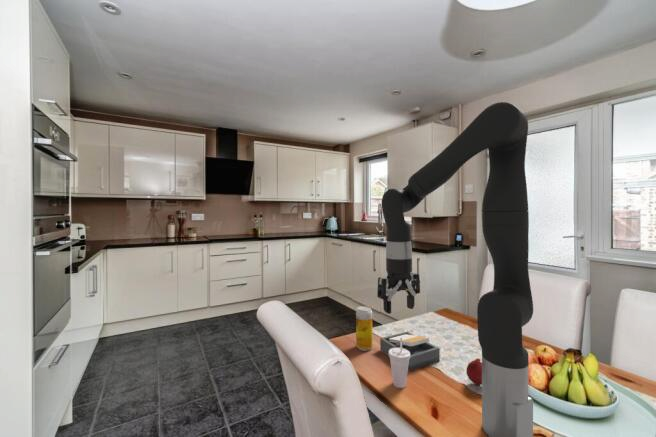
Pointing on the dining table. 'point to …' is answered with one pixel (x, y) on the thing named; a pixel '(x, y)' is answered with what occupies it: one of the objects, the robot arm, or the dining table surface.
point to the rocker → (408, 340)
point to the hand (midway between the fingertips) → (399, 310)
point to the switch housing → (414, 352)
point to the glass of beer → (364, 328)
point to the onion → (475, 371)
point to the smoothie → (399, 365)
